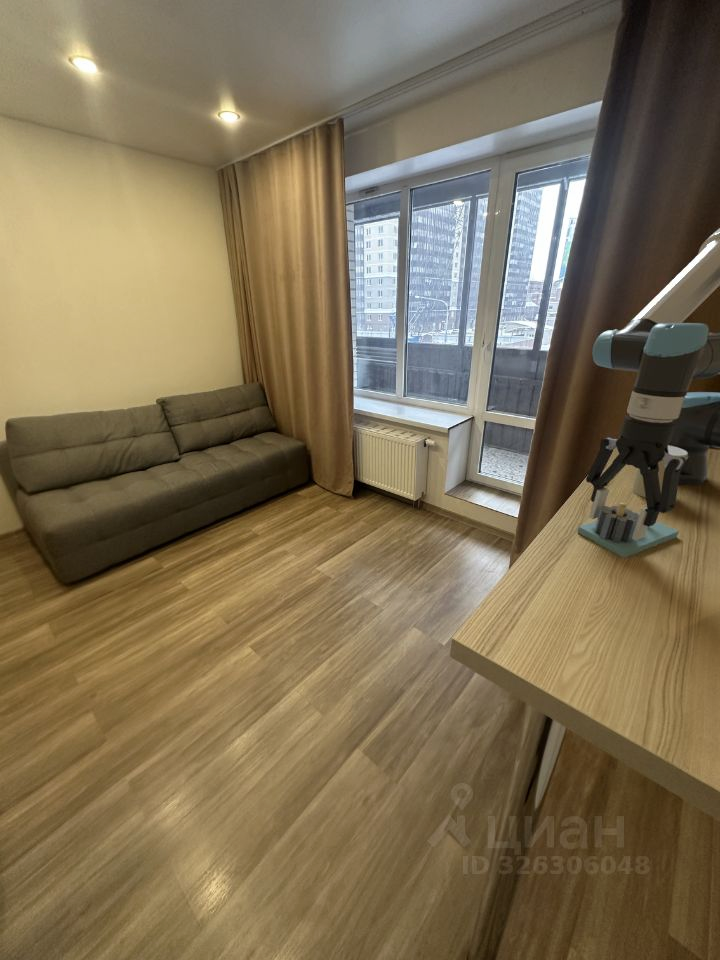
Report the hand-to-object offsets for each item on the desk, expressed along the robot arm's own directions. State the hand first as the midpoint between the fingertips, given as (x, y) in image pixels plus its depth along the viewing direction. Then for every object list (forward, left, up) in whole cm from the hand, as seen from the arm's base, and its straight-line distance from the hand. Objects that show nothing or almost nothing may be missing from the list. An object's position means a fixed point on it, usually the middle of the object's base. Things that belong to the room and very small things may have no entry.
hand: (615, 526), depth 76 cm
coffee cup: (-30, -10, -3) cm, 32 cm away
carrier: (-5, 0, -3) cm, 6 cm away
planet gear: (0, 0, -2) cm, 2 cm away
